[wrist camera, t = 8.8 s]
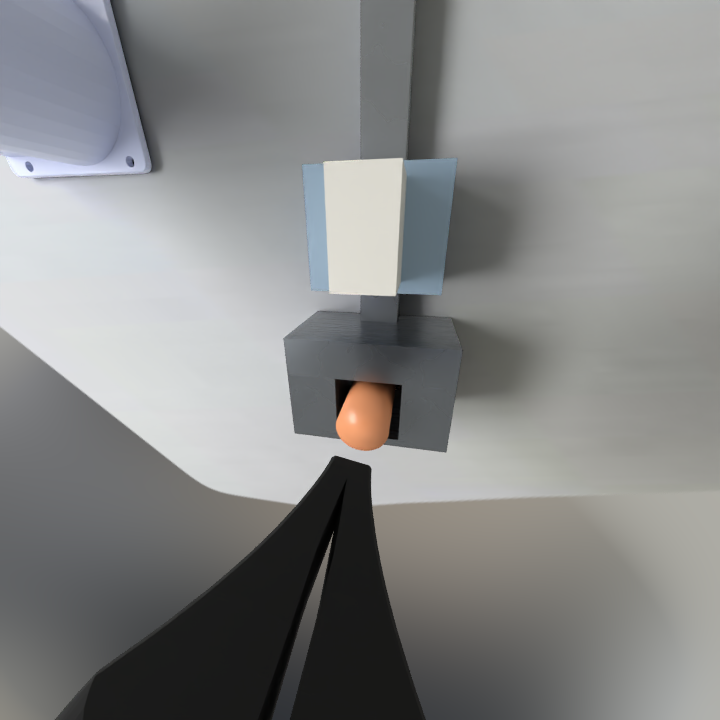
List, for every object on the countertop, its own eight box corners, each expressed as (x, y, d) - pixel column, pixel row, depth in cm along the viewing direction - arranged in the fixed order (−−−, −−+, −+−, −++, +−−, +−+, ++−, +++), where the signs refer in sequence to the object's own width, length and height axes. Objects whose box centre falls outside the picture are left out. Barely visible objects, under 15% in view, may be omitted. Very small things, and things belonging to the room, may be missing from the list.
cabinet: (322, 387, 20) (294, 433, 16) (317, 311, 18) (283, 338, 13) (441, 399, 19) (448, 452, 14) (452, 317, 16) (465, 350, 12)
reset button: (354, 401, 17) (336, 446, 13) (353, 364, 16) (334, 403, 12) (394, 405, 17) (387, 453, 13) (396, 368, 16) (389, 409, 12)
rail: (365, 321, 17) (360, 329, 16) (368, -201, 10) (360, -269, 8) (397, 323, 17) (396, 331, 16) (428, -216, 9) (430, -290, 8)
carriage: (329, 279, 16) (284, 305, 11) (325, 177, 14) (266, 144, 9) (437, 283, 15) (447, 312, 10) (449, 173, 13) (470, 132, 8)
